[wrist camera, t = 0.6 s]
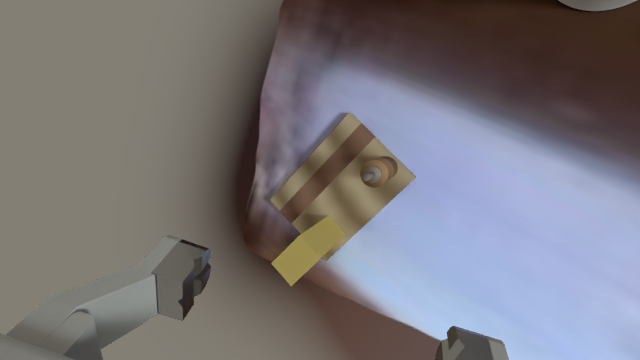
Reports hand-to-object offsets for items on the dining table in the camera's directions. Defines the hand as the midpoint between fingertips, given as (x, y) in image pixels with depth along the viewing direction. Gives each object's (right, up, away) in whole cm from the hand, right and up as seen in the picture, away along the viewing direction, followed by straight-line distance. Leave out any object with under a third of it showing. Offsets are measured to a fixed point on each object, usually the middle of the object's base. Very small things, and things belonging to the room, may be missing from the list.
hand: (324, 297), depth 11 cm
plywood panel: (+3, +2, +45) cm, 45 cm away
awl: (+10, +6, +41) cm, 42 cm away
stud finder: (+1, -5, +45) cm, 45 cm away
